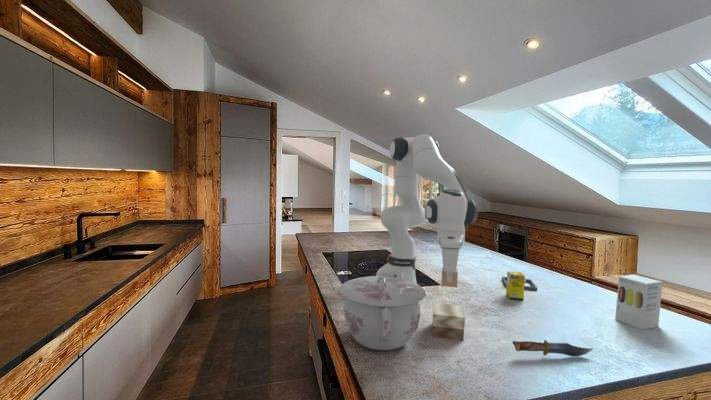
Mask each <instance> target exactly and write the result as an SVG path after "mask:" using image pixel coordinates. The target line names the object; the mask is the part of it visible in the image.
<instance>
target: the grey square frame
mask: <svg viewBox="0 0 711 400" xmlns="http://www.w3.org/2000/svg"><path fill="white" fill-rule="evenodd" d="M501 281H502V283H503V285H504V286H505V287H504V288H506V287H507V276H502V277H501ZM525 283H529V284H530V285H531V286H529V285H528V286H524V291H525V290H526V291H538V287H537V285H536V284H535V283H534V281H533V280H532V279H531V278H526V282H525Z"/></svg>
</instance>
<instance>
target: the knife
mask: <svg viewBox="0 0 711 400" xmlns="http://www.w3.org/2000/svg"><path fill="white" fill-rule="evenodd" d="M511 342H512V344H513V346H514V348H515V349H514V350H515V352H521V351H522V352H542V353H543V354H542V355H543V356H547V355H548V354H561V355H565V356H569V357H581V356H584V355H587V354H588V353H590V352H591V351H592V350H593V348H588V347H580V346H575V345H572V344H570V343H568V342H548V341H547V340H546V339H544V341H543V342H539V341H524V340H523V341H516V340H512V341H511Z"/></svg>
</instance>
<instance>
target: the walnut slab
mask: <svg viewBox="0 0 711 400" xmlns="http://www.w3.org/2000/svg"><path fill="white" fill-rule="evenodd" d="M464 332H465V329H464V330H463V329H454V328H446V327H438V326H433V321H432V323H431V337H435V338H441V339H447V340H456V341H465V340H464V335H465V333H464Z"/></svg>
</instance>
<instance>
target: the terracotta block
mask: <svg viewBox="0 0 711 400" xmlns="http://www.w3.org/2000/svg"><path fill="white" fill-rule="evenodd" d="M458 273H459V272H458V268H456V272H455V273H453V276H452V282H447V281H446V280H447V275H446V272H444V270H443V266H442V269H441V287H447V288H448V287H449V288H457V287H458V276H459V275H458Z"/></svg>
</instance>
